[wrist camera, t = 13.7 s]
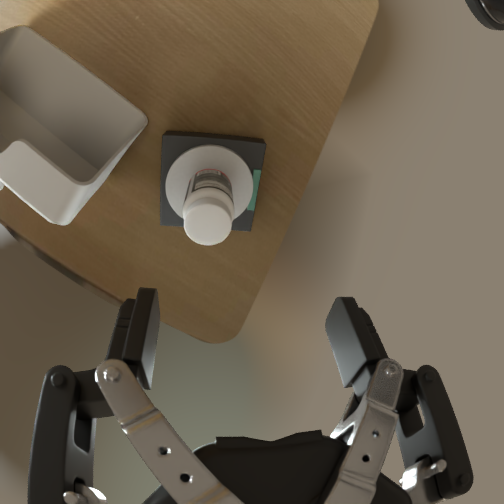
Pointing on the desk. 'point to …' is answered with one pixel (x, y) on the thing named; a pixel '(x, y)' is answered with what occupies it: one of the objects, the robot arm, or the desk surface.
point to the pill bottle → (208, 207)
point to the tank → (57, 126)
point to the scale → (210, 156)
